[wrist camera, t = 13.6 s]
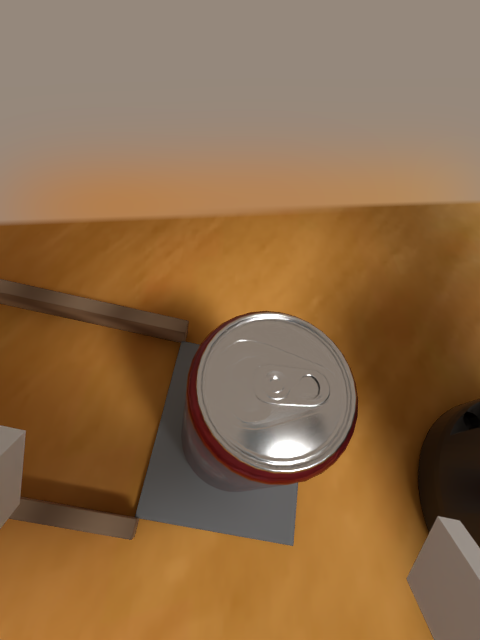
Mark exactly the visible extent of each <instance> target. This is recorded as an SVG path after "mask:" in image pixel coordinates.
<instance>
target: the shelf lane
mask: <svg viewBox="0 0 480 640" xmlns="http://www.w3.org/2000/svg"><path fill="white" fill-rule="evenodd" d="M0 304H5V305H10V306H14V307H19V308H23V309H28V310H33V311H37V312H42V313H46V314H51V315H56V316H60V317H65V318H69V319H74V320H79V321H83V322H88V323H93V324H97V325H102V326H106V327H111V328H116V329H120V330H125V331H129V332H134V333H139V334H143V335H148V336H152V337H157V338H162V339H166V340H171V341H175V342H180V343H181V342H182V341H186V337H187V333H188V323H189V321H187V320H182V319H178V318H173V317H169V316H164V315H160V314H155V313H151V312H146V311H142V310H137V309H133V308H128V307H124V306H119V305H115V304H110V303H106V302H101V301H97V300H92V299H88V298H83V297H79V296H74V295H70V294H65V293H61V292H56V291H52V290H47V289H43V288H38V287H34V286H29V285H25V284H20V283H16V282H11V281H7V280H2V279H0ZM9 519H14V520H20V521H26V522H32V523H37V524H43V525H49V526H55V527H60V528H66V529H72V530H77V531H83V532H89V533H95V534H100V535H106V536H112V537H118V538H123V539H129V540H131V539H133V538H134V537H135V533H136V529H137V525H138V521H139V518H135V517H131V516H126V515H120V514H115V513H109V512H103V511H98V510H92V509H87V508H81V507H76V506H70V505H64V504H59V503H53V502H48V501H42V500H37V499H31V498H25V497H20V504H19V505H18V507H17V508H16V509H15V510H14V512H13V513H12V514H11V516H10V517H9Z"/></svg>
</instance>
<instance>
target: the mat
mask: <svg viewBox="0 0 480 640" xmlns="http://www.w3.org/2000/svg"><path fill="white" fill-rule="evenodd" d="M199 346H200V345H199V344H194V343H190V342H185V341H182V342H181V345H180V349H179V353H178V357H177V360H176V364H175V368H174V372H173V375H172V379H171V383H170V387H169V390H168V394H167V398H166V402H165V406H164V409H163V413H162V417H161V421H160V424H159V428H158V432H157V436H156V439H155V443H154V447H153V451H152V454H151V458H150V462H149V466H148V470H147V473H146V477H145V481H144V485H143V488H142V492H141V496H140V500H139V503H138V507H137V511H136V515H135V518H140V519H146V520H151V521H157V522H163V523H168V524H174V525H179V526H185V527H190V528H196V529H202V530H207V531H213V532H218V533H224V534H230V535H235V536H241V537H246V538H252V539H257V540H263V541H269V542H274V543H280V544H285V545H291V546H293V543H294V530H295V516H296V503H297V490H298V483H294V484H289V485H283V486H276V487H270V488H263V489H257V490H250V491H244V492H227V491H223V490H219V489H216V488H214V487H212V486H210V485H208V484H207V483H205V482H204V481H203V480H202V479H200V478H199V477H198V476H197V475H196V474H195V472H194V471H193V470H192V469H191V467H190V465H189V464H188V462H187V460H186V458H185V455H184V452H183V448H182V441H181V430H182V420H183V411H184V403H185V394H186V386H187V377H188V373H189V369H190V366H191V362H192V359H193V357H194V355H195V353H196V352H197V350H198V348H199Z"/></svg>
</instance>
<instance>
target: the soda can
mask: <svg viewBox="0 0 480 640" xmlns="http://www.w3.org/2000/svg"><path fill="white" fill-rule="evenodd" d="M357 414H358V396H357V389H356V383H355V380H354V377H353V374H352V371H351V368H350V367H349V365H348V363H347V361H346V359H345V357H344V355H343V354H342V353H341V351H340V350H339V349H338V347H337V346H336V345H335V343H334V342H333V341H332V340H331V339H330V338H329V337H327V336H326V335H325V334H324V333H323V332H322V331H321V330H319V329H318V328H316V327H315V326H313V325H312V324H310V323H309V322H307V321H304V320H302V319H300V318H298V317H296V316H292V315H289V314H285V313H281V312H271V311H260V312H250V313H247V314H243V315H240V316H236V317H234V318H232V319H230V320H228V321H226V322H224V323H222V324H221V325H220V326H218V327H217V328H216V329H215V330H213V331H212V332H211V333H210V334H209V335H208V336H207V337H206V338H205V340H204V341H203V342H202V343H201V344H200V346H199V348H198V350H197V352H196V353H195V355H194V357H193V359H192V362H191V366H190V369H189V373H188V377H187V386H186V394H185V403H184V411H183V420H182V430H181V441H182V448H183V452H184V455H185V458H186V460H187V462H188V464H189V465H190V467H191V469H192V470H193V471H194V472H195V474H196V475H197V476H198V477H199V478H200V479H202V480H203V481H204V482H205V483H207V484H208V485H210V486H212V487H214V488H216V489H219V490H223V491H227V492H244V491H250V490H257V489H263V488H270V487H276V486H283V485H289V484H294V483H298V482H303V481H307V480H309V479H311V478H313V477H315V476H317V475H319V474H321V473H323V472H324V471H325V470H327V469H328V468H329V467H330V466H332V465H333V464H334V463H335V462H336V461H337V460H338V458H339V457H340V456H341V455H342V453H343V452H344V451H345V450H346V448H347V446H348V443H349V441H350V439H351V437H352V435H353V432H354V428H355V424H356V420H357Z"/></svg>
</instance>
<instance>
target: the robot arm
mask: <svg viewBox="0 0 480 640" xmlns="http://www.w3.org/2000/svg"><path fill="white" fill-rule="evenodd" d="M25 436H26V431H25V430H20V429H16V428H11V427H6V426H1V425H0V529H1V527H2V526H3V525H4V523H5V522H6V521H7V520H8V518H9V517H10V516H11V514H12V513H13V512H14V510H15V509H16V508H17V507H18V505H19V504H20V495H21V483H22V472H23V460H24V448H25ZM418 482H419V494H420V500H421V505H422V510H423V514H424V517H425V521H426V524H427V527H428V530H429V532H430V533H429V535H428V537H427V539H426V541H425V543H424V545H423V547H422V549H421V551H420V553H419V555H418V557H417V559H416V561H415V563H414V565H413V567H412V569H411V571H410V573H409V575H408V577H407V581H408V583H409V586H410V588H411V590H412V592H413V594H414V597H415V599H416V601H417V603H418V605H419V607H420V610H421V612H422V614H423V616H424V618H425V621H426V623H427V625H428V627H429V629H430V632H431V634H432V636H433V638H434V640H480V399H477V400H474V401H471V402H468V403H465V404H462V405H459V406H456V407H454V408H452V409H450V410H449V411H447V412H446V413H444V414H443V415H442V416H441V417H440V418H439V419H438V420H437V421H436V422H435V423H434V424H433V426H432V427H431V429H430V430H429V432H428V434H427V436H426V438H425V441H424V444H423V446H422V450H421V454H420V460H419V470H418Z"/></svg>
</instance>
